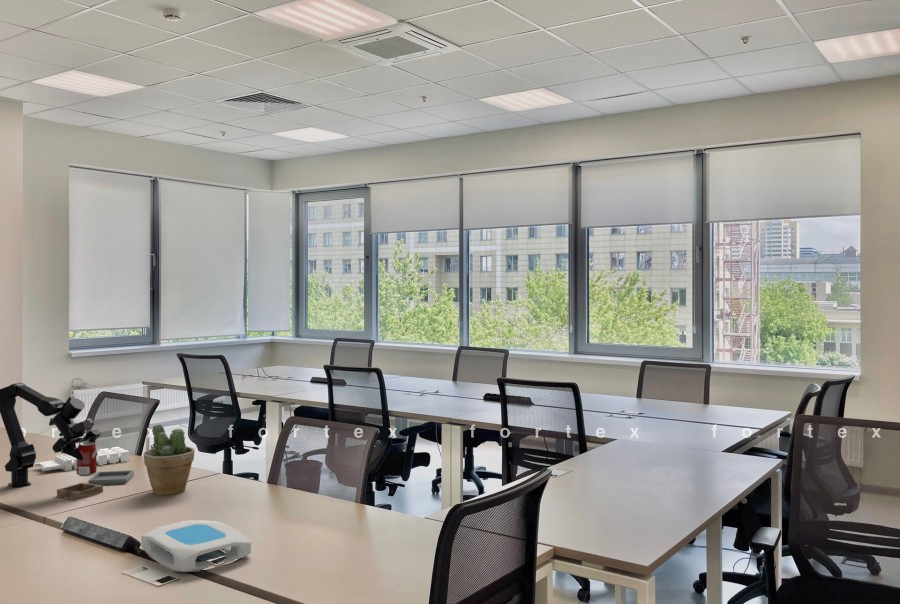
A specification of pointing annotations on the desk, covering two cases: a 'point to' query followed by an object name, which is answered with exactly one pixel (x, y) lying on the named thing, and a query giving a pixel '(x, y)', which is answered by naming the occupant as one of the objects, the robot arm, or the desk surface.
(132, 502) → the desk surface
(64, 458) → the organizer
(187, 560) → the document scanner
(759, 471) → the desk surface
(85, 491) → the square frame
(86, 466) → the soda can
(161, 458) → the potted plant
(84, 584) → the desk surface
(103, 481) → the tray
